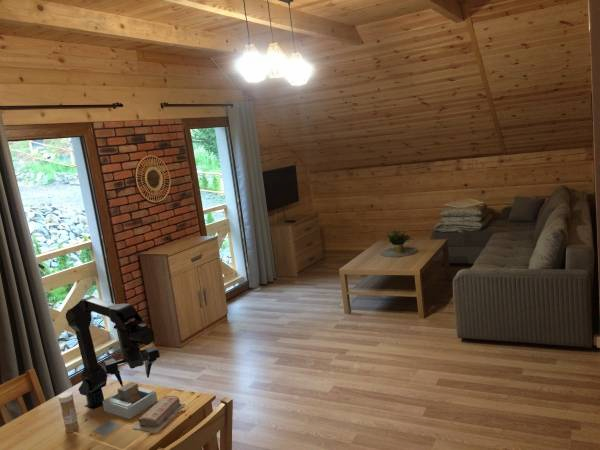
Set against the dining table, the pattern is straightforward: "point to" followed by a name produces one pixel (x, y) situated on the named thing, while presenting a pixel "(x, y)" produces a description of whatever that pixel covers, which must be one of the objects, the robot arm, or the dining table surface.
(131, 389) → the block
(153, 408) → the packaged product
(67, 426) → the sprinkles bottle
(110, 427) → the coaster
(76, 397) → the dining table surface
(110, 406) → the grey open tray
